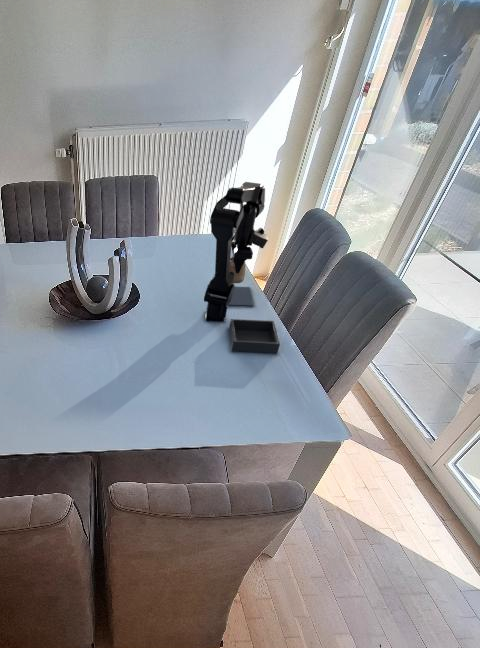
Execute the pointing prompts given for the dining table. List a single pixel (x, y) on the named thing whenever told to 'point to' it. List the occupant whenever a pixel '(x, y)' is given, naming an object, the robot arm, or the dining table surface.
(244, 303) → the mat
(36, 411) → the dining table surface
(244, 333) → the bin
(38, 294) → the dining table surface
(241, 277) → the figurine
